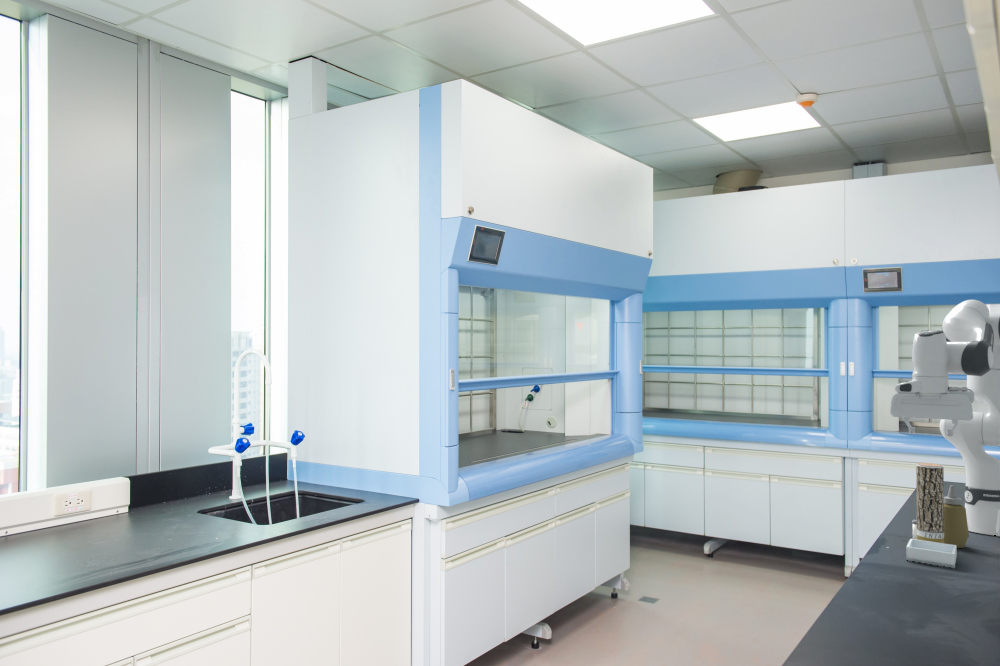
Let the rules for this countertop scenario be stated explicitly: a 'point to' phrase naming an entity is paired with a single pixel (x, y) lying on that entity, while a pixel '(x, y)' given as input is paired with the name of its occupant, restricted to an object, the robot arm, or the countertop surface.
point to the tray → (931, 553)
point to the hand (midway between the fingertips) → (931, 434)
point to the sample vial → (914, 529)
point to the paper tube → (930, 502)
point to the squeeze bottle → (955, 520)
